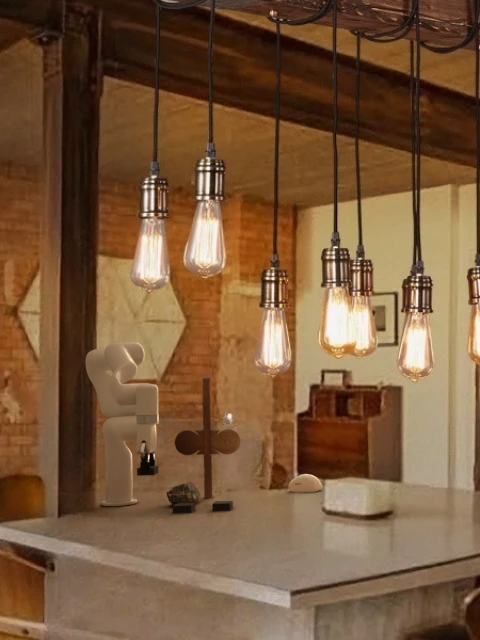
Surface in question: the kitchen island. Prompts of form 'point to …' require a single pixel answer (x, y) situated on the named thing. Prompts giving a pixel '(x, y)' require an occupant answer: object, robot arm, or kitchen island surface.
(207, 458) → the brown flat cross piece
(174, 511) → the pad base
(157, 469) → the pad
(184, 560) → the kitchen island surface
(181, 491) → the rock
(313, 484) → the computer mouse
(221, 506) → the pad
